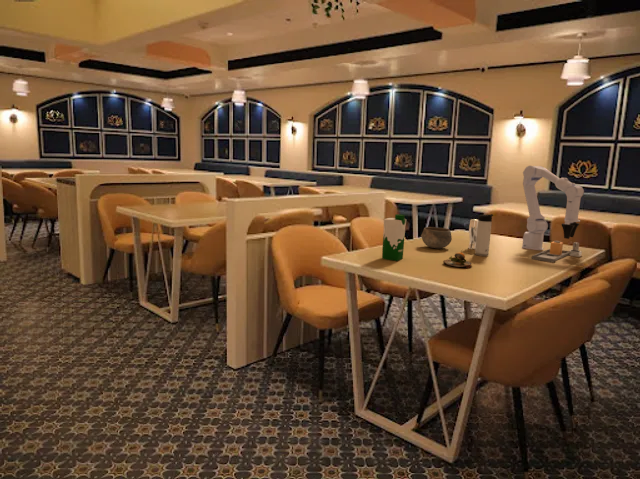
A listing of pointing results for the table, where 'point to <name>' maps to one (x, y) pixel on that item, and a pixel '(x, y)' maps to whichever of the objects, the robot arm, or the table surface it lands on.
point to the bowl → (436, 237)
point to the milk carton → (393, 238)
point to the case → (564, 253)
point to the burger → (458, 261)
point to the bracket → (574, 253)
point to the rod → (575, 246)
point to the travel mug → (483, 235)
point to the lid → (545, 257)
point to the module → (556, 248)
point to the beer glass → (473, 233)
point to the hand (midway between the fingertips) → (568, 237)
